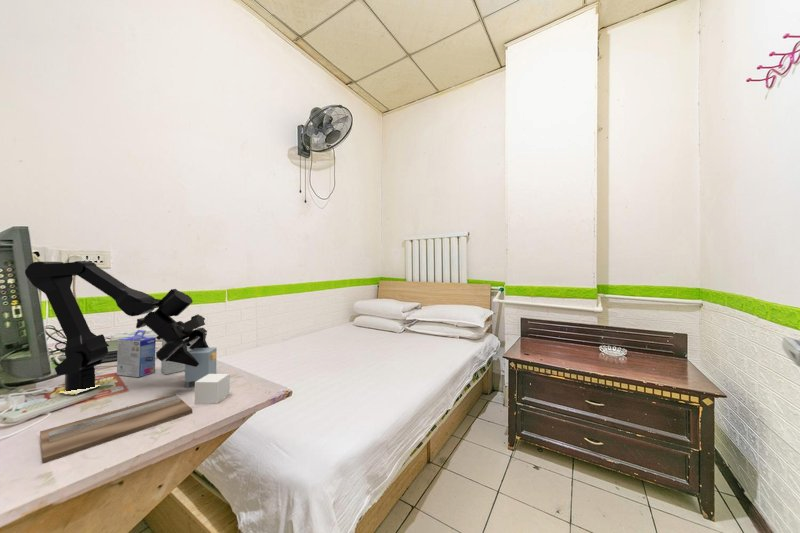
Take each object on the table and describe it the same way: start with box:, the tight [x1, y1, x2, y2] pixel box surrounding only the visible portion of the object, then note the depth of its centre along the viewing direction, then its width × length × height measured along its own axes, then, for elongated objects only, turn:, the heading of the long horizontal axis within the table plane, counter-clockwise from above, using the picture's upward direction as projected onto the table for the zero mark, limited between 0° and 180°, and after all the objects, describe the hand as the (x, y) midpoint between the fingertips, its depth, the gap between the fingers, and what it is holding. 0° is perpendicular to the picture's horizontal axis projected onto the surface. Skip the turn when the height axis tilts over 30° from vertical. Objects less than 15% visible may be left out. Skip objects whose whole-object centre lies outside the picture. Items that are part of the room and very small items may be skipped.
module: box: [184, 346, 218, 389], centre depth 92 cm, size 7×6×10 cm
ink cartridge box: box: [116, 329, 157, 378], centre depth 99 cm, size 10×6×14 cm, turn 78°
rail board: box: [39, 393, 193, 464], centre depth 69 cm, size 14×24×2 cm, turn 142°
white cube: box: [194, 373, 231, 405], centre depth 82 cm, size 6×6×6 cm
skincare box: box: [160, 329, 195, 376], centre depth 103 cm, size 8×6×15 cm
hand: (205, 360), depth 92 cm, fingers open, 9 cm apart
